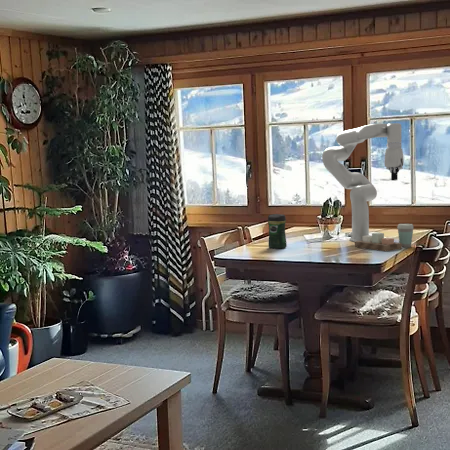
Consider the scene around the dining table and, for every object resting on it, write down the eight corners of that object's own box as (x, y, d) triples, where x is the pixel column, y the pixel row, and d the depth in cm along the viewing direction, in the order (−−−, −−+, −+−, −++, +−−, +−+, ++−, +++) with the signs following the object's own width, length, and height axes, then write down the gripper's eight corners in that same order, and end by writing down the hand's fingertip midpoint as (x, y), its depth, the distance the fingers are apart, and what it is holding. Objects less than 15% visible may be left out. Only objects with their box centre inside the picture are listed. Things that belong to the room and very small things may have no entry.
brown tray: (355, 246, 362) (355, 241, 362) (370, 244, 369) (370, 239, 369) (385, 251, 344) (385, 245, 344) (401, 248, 351) (401, 243, 350)
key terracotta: (381, 248, 351) (381, 238, 351) (387, 247, 354) (387, 237, 353) (388, 248, 348) (388, 239, 347) (394, 248, 350) (394, 238, 349)
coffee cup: (414, 247, 352) (414, 225, 351) (397, 247, 354) (397, 225, 353) (413, 245, 361) (413, 223, 359) (396, 245, 362) (396, 223, 361)
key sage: (371, 242, 357) (371, 233, 356) (377, 241, 359) (377, 232, 359) (378, 243, 353) (378, 234, 353) (383, 242, 356) (383, 233, 355)
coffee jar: (288, 247, 368) (288, 213, 365) (281, 249, 361) (280, 215, 359) (274, 246, 373) (273, 213, 371) (266, 248, 367) (265, 214, 365)
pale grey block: (362, 245, 363) (362, 236, 362) (368, 244, 365) (368, 235, 365) (368, 246, 359) (368, 236, 359) (374, 245, 362) (374, 236, 361)
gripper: (379, 146, 367) (379, 180, 369) (400, 146, 355) (400, 180, 357) (388, 146, 371) (388, 179, 373) (409, 145, 359) (409, 180, 361)
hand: (394, 180), depth 365 cm, fingers closed
